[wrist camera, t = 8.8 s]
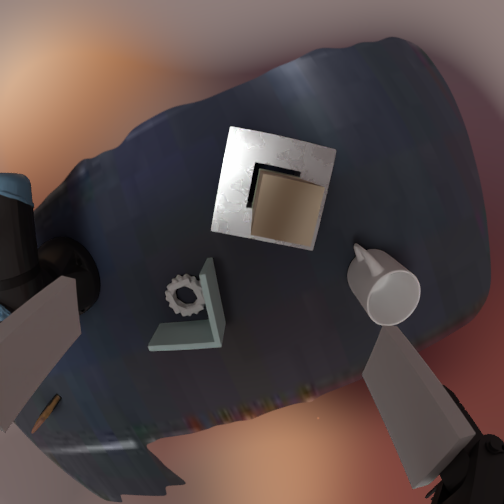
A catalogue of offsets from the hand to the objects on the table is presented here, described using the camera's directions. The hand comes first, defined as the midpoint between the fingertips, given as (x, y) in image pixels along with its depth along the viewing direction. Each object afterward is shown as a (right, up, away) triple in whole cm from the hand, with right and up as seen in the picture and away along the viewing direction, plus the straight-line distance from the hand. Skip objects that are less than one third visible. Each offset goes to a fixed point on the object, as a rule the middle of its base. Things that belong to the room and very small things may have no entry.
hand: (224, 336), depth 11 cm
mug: (+20, +1, +36) cm, 41 cm away
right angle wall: (-10, -4, +38) cm, 40 cm away
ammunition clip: (-54, -38, +49) cm, 82 cm away
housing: (+4, +13, +32) cm, 35 cm away
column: (+4, +11, +25) cm, 28 cm away
